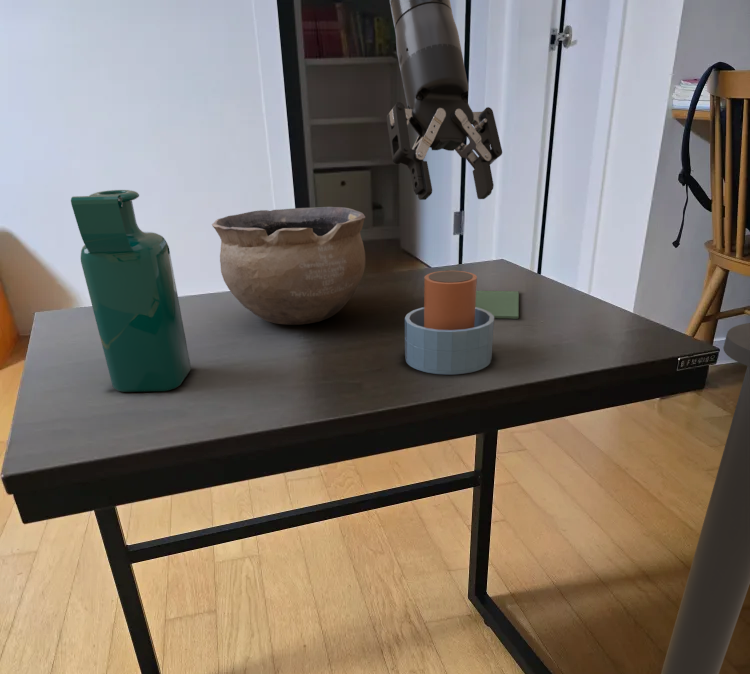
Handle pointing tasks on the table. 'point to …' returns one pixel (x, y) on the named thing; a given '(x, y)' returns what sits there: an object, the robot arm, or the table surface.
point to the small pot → (449, 300)
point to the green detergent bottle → (131, 294)
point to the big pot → (448, 345)
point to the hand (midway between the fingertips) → (456, 196)
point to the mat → (499, 303)
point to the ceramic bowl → (292, 261)
